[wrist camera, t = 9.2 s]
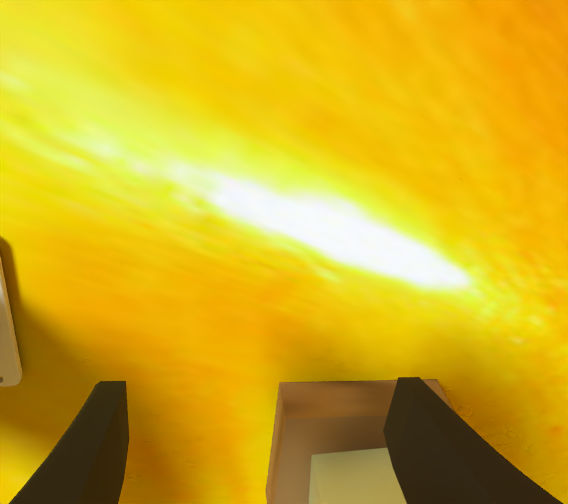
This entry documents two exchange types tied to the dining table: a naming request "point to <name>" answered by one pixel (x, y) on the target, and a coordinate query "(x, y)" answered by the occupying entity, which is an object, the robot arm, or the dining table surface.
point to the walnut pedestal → (325, 428)
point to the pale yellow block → (354, 478)
